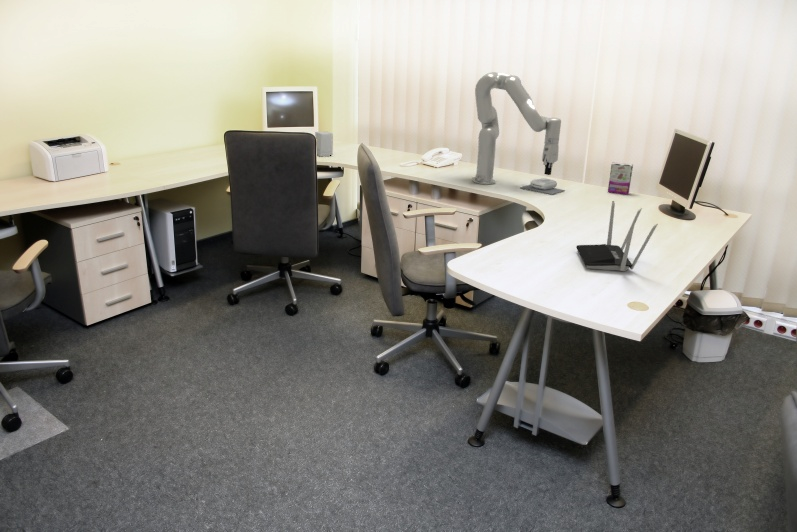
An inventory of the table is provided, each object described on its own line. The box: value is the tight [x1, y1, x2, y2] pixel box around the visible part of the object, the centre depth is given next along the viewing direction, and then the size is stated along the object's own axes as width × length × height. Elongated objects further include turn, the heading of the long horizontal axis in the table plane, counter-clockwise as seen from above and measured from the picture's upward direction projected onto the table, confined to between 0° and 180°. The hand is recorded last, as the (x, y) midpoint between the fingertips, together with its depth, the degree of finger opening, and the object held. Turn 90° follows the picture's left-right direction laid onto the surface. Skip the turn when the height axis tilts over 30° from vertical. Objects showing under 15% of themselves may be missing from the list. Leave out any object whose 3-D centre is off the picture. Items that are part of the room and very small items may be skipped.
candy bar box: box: [607, 161, 634, 196], centre depth 360 cm, size 11×5×16 cm, turn 68°
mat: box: [519, 184, 566, 196], centre depth 363 cm, size 14×20×1 cm
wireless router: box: [575, 200, 659, 272], centre depth 249 cm, size 34×23×20 cm
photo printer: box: [529, 177, 558, 190], centre depth 364 cm, size 10×4×12 cm
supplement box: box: [314, 131, 334, 157], centre depth 428 cm, size 9×9×15 cm
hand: (547, 174), depth 363 cm, fingers closed
